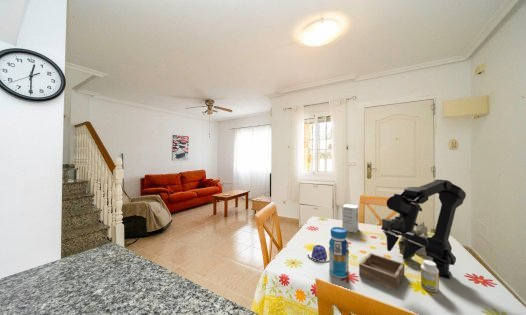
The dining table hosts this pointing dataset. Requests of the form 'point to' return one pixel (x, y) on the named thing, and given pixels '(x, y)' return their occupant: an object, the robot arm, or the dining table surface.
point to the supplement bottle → (429, 276)
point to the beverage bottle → (338, 253)
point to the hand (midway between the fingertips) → (396, 254)
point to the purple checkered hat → (319, 253)
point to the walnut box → (382, 270)
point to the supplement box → (350, 218)
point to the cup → (402, 247)
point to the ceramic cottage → (420, 231)
